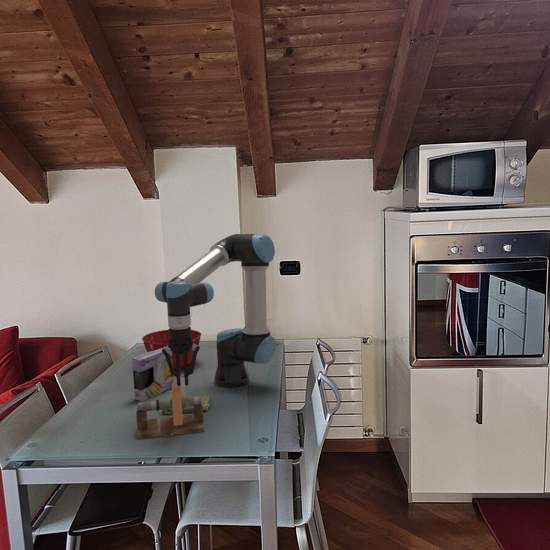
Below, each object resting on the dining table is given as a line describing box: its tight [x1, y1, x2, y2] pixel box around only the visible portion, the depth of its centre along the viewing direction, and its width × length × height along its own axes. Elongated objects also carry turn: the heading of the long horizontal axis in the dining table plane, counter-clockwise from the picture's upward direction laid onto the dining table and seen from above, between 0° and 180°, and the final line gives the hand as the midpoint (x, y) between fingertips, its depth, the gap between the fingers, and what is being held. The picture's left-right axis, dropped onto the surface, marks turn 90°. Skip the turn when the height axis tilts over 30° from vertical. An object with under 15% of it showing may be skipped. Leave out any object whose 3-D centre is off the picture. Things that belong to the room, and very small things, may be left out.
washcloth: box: [161, 394, 211, 415], centre depth 186 cm, size 13×18×3 cm
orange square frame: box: [171, 382, 183, 426], centre depth 167 cm, size 3×11×11 cm, turn 12°
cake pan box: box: [131, 347, 174, 402], centre depth 200 cm, size 19×5×18 cm, turn 147°
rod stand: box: [135, 397, 205, 440], centre depth 167 cm, size 22×12×10 cm, turn 102°
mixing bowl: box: [141, 329, 202, 371], centre depth 239 cm, size 28×28×15 cm
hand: (183, 394), depth 167 cm, fingers closed
